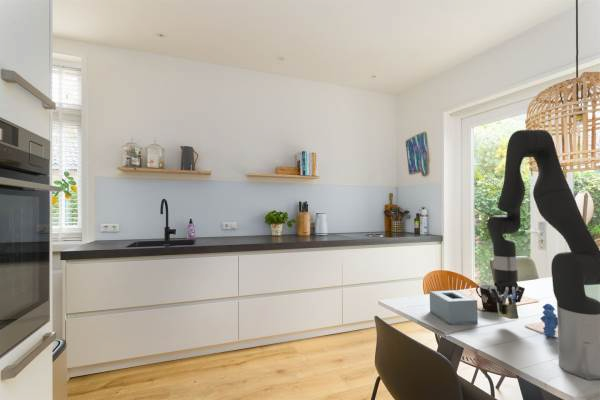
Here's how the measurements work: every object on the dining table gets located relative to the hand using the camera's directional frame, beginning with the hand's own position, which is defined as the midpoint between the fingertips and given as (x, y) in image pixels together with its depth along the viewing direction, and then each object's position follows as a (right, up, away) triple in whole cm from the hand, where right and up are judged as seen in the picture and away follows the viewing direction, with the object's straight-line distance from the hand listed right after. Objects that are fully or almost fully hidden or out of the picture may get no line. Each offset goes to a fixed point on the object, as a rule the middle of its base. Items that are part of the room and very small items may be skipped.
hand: (507, 313), depth 112 cm
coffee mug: (+6, -6, +20) cm, 22 cm away
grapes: (+10, -5, -9) cm, 14 cm away
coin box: (-15, -6, +11) cm, 20 cm away
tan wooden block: (0, -1, 0) cm, 1 cm away
